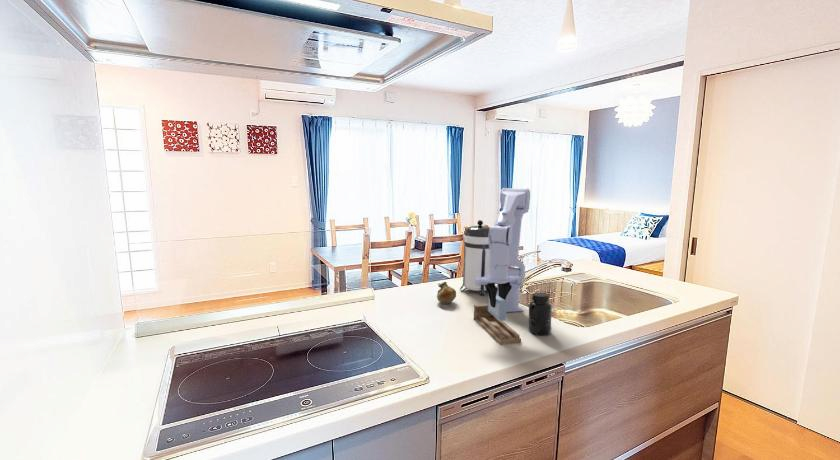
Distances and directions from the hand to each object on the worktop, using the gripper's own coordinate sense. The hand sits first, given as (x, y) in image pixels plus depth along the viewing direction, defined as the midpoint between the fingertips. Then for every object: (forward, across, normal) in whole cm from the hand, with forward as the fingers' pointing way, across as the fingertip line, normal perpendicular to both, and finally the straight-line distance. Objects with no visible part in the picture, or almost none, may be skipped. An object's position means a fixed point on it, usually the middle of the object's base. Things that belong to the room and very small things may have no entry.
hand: (496, 306), depth 121 cm
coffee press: (+8, +11, +39) cm, 41 cm away
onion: (+8, -8, +27) cm, 29 cm away
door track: (+8, 0, 0) cm, 8 cm away
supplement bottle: (+8, +13, -4) cm, 16 cm away
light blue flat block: (+3, 0, 0) cm, 3 cm away
